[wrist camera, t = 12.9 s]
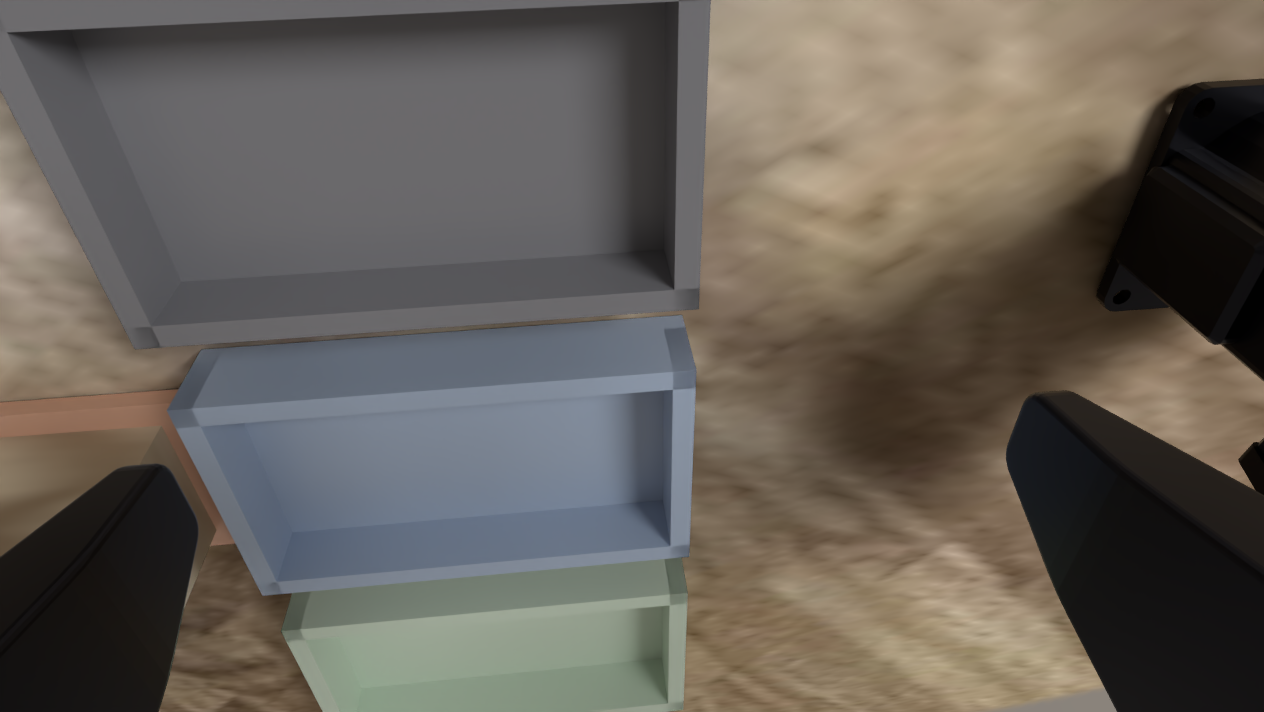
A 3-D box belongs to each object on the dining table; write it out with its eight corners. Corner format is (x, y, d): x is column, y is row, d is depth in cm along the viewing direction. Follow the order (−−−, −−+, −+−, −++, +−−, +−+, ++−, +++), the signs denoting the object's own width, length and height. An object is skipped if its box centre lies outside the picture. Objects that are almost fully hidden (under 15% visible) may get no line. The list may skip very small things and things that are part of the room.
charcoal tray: (691, -61, 16) (712, -36, 14) (683, 256, 21) (698, 308, 19) (27, -34, 15) (-48, -3, 13) (174, 291, 20) (134, 349, 18)
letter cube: (161, 425, 22) (87, 557, 18) (216, 530, 25) (161, 662, 21) (-7, 438, 22) (-116, 575, 18) (68, 542, 24) (-14, 679, 21)
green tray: (677, 533, 28) (687, 592, 26) (674, 651, 32) (683, 709, 30) (299, 567, 27) (280, 631, 25) (352, 683, 32) (340, 745, 30)
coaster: (185, 388, 22) (176, 402, 21) (252, 528, 26) (247, 542, 25) (-39, 405, 22) (-52, 420, 21) (62, 544, 25) (53, 559, 25)
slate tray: (682, 314, 22) (696, 369, 20) (678, 497, 27) (689, 556, 25) (201, 349, 21) (166, 410, 19) (283, 531, 26) (262, 596, 24)
